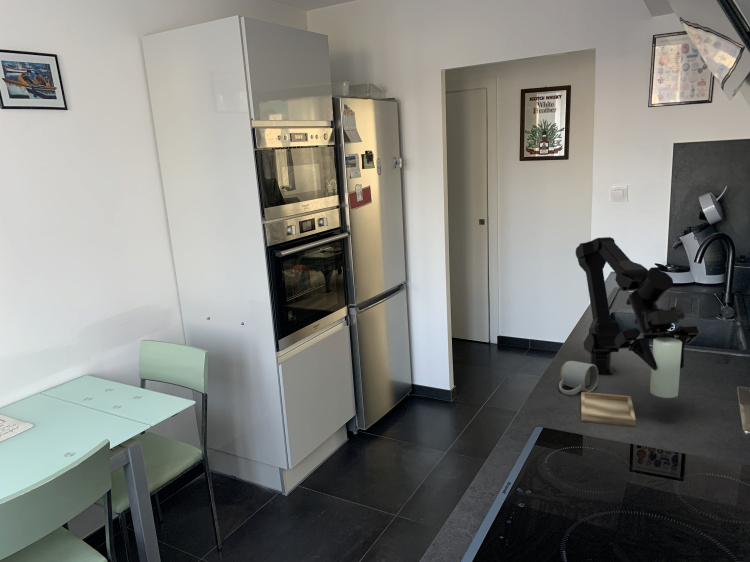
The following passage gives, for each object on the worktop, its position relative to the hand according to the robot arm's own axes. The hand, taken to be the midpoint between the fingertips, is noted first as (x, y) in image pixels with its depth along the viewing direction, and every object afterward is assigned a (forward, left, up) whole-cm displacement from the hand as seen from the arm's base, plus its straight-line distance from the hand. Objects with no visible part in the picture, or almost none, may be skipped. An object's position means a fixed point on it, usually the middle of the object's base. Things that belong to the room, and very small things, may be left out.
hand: (668, 368), depth 132 cm
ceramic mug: (-15, -20, -14) cm, 29 cm away
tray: (-2, -13, -13) cm, 19 cm away
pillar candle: (-1, -1, -7) cm, 7 cm away
